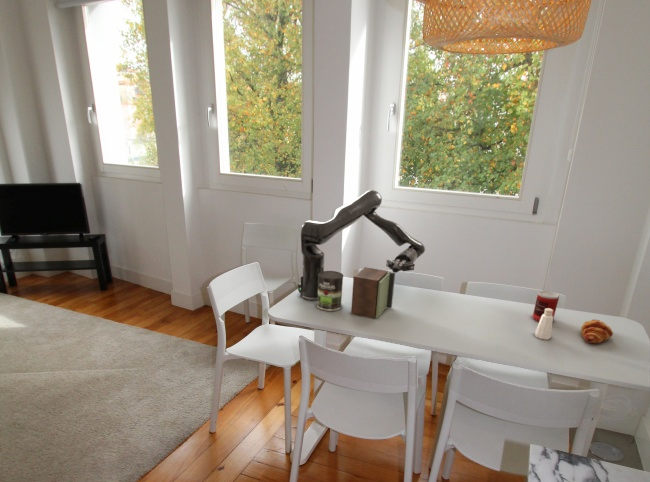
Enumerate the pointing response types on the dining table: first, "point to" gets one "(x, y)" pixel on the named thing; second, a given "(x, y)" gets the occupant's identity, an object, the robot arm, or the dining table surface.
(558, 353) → the dining table surface
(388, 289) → the sliding door
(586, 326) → the croissant
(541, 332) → the pepper shaker
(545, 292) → the canned food
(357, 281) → the closet
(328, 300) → the coffee can
